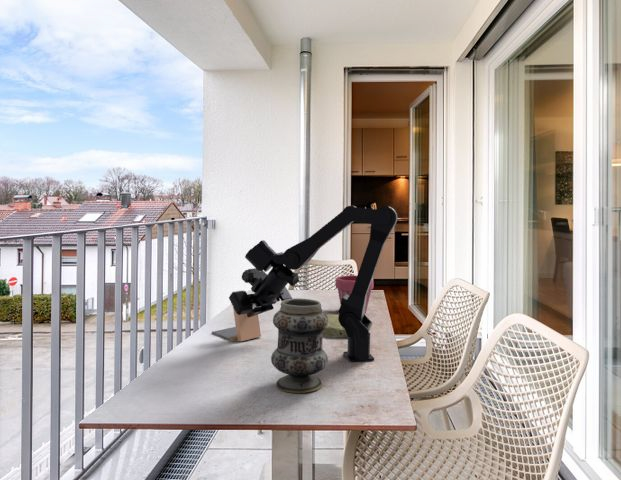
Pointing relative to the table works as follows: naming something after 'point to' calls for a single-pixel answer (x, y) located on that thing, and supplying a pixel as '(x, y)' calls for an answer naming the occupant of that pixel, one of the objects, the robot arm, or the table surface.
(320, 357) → the apothecary jar
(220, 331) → the mat
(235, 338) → the stop strip
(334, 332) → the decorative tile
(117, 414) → the table surface
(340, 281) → the plant pot
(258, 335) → the tile
